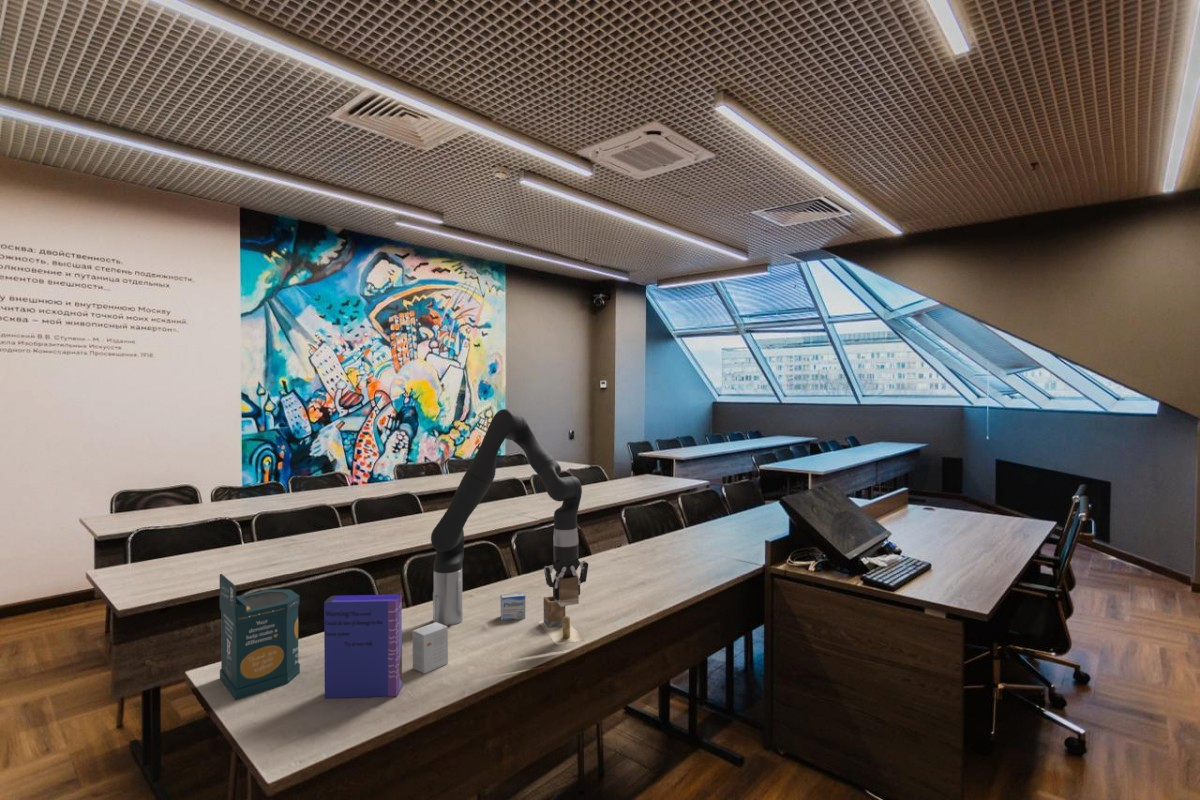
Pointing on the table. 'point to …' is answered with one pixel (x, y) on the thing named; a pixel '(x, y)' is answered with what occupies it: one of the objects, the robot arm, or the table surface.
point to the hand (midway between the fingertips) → (566, 597)
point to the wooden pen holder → (553, 612)
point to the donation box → (257, 639)
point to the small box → (430, 647)
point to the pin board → (562, 632)
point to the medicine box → (512, 606)
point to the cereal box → (363, 646)
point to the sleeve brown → (568, 591)
